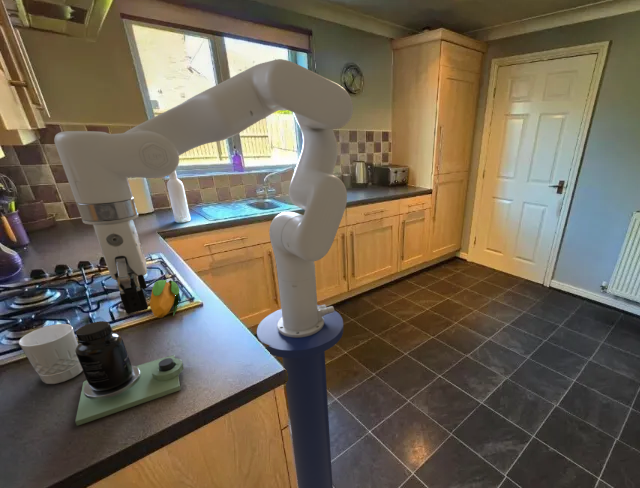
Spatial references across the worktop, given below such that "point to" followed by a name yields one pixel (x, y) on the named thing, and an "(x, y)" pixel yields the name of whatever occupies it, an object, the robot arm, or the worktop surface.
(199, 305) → the worktop surface
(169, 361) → the tare button
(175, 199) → the bottle
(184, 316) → the worktop surface
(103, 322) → the supplement bottle
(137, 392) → the scale
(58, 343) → the white cup
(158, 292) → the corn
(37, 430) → the worktop surface
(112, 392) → the scale pan
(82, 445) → the worktop surface
